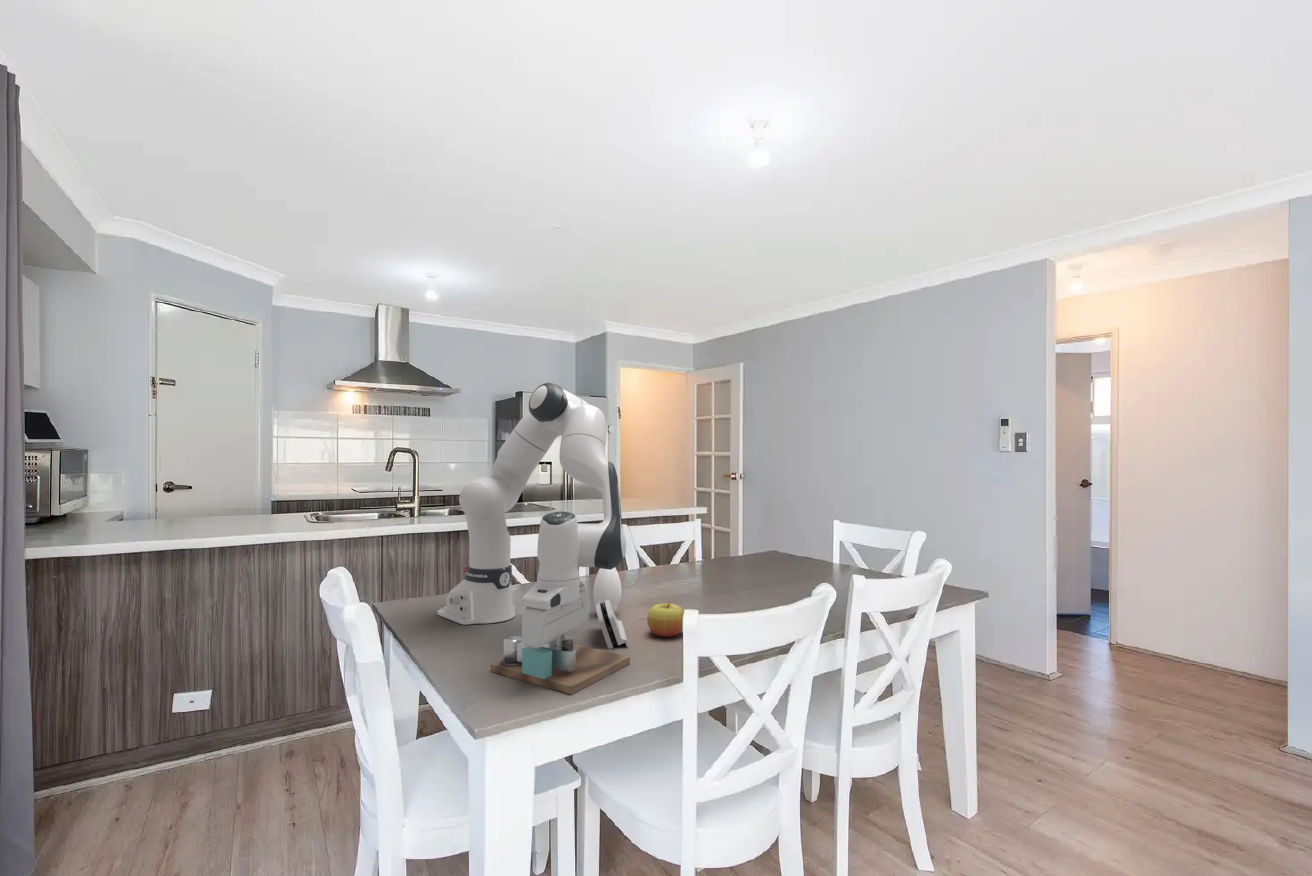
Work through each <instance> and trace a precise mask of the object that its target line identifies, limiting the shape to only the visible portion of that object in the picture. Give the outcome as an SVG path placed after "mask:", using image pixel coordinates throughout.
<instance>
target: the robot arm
mask: <svg viewBox="0 0 1312 876" xmlns="http://www.w3.org/2000/svg"><path fill="white" fill-rule="evenodd" d="M528 410H529V411H528V412H526V413H525V415H524V416H523V417H522V418H521V419H520V420H519V422H518V423H517V424H516V426H515V427H514V428H513V430H512V431H511V433H510V434H509V435H508V437H507V438H506V440H505V441H504V443H503V444H502V445H501V447H500V448H499V449H498V450H497V455H496V459H495V461H494V463H493V466H492V468H491V469H490V471H489V472H488V474H487V475H486V476H485V477H479V478H474V479H473V480H471V481H470V482H468V483H467V484H466V485H465V486H464V487H463V488H462V489H461V491H460V494H459V498H458V501H459V506H460V508H461V510H462V511H463V513H464V516H465V521H466V526H467V530H468V531H467V532H468V539H469V540H468V541H469V542H468V543H469V554H468V555H469V556H468V557H469V558H468V559H469V562H468V563H469V565H468V566H467V567H462V571H461V572H462V573H465V574H464V577H463V579H462V581H460V582H459V583H458V584H456V585H455V587H453V588H452V589H451V590H450V591H449V592H448V594H447V597H446V603H445V604H446V605H445V606H444V607H441V608H440V609H438V610H437V612H436V615H438V616H439V617H443V618H445V619H447V620H450V621H452V622H455V623H457V624H460V625H465V626H466V625H473V624H474V625H476V624H494V623H499V622H500V623H501V622H504V621H508V620H511V619H513V618H515V617H516V606H515V605H514V597H513V588H512V587H513V586H512V582H511V580H512V577H513V574H512V573H513V568H512V564H511V542H512V541H511V534H510V533H509V531H508V525H507V521H506V513H507V512H509V511H510V510H511V509H513V508H514V506H516V504H517V503H518V501H519V498H520V496H521V495H522V493H523V491H524V489H525V487H526V485H527V483H528V481H529V479H530V478H531V476H532V474H533V473H534V471H535V469H536V468H537V467H538V465H539V464H540V462H541V461H542V459H543V458H544V457H545V455H546V454H547V453H548V451H549V450H550V448H551V447H552V445H553V443H554V442H555V440H556V439H557V438H558V437H560V436H561V440H560V446H559V455H558V456H559V463H560V465H561V468H562V469H563V470H564V472H565V473H566V474H567V475H568V476H570V478H572V479H574V480H576V481H577V482H580V483H581V484H582V483H583V484H585V485H588V486H591V487H593V488H595V489H596V490H597V491H599V492H600V493H601V497H602V510H603V521H601V522H599V523H578V519H577V518H578V517H577V515H576V514H574V513H572V512H569V511H553V512H549V513H547V514H545V515H543V516H542V517H541V519H540V523H539V528H538V529H539V530H538V537H537V550H536V551H537V560H538V571H537V573H536V574H537V577H536V578H537V579H536V582H535V583H534V585H533V586H532V587H531V588H530V589H529V590H528V591H527V592H526V593H525V594H523V596H522V597H521V604H522V607H525V608H524V609H523V612H522V616H521V618H522V619H521V637H522V641H523V643H524V645H525V646H527V647H532V648H540V647H542V646H543V645H545V644H547V643H549V644H550V645H555V646H561V641H563V640H568V636H569V635H568V633H569V632H571V631H573V630H575V629H578V628H579V627H580V626H583V625H585V624H586V623H587V622H588V621H589V617H590V604H589V595H588V592H587V591H586V585H584V583H583V582H582V581H580V570H579V567H580V568H596V569H600V568H601V569H609V570H611V569H613V568H616V567H618V566H619V565H620V564H621V563H622V562H623V561H624V560H625V557H626V552H627V543H626V537H625V536H626V535H625V533H624V529H623V522H622V520H623V519H622V509H621V508H622V507H621V496H620V489H619V478H618V474H617V470H616V467H615V464H614V463H613V462H612V461H610V460H608V458H607V457H606V444H607V425H606V424H607V423H606V418H605V417H606V416H605V415H604V413H603V411H602V410H601V409H600V408H599V407H597V406H595V405H591V404H589V403H588V402H587V401H585V400H584V399H582V397H580V396H577V395H576V394H573V393H571V392H570V391H569V390H566V389H564V388H562V387H561V386H560V385H559V384H555V383H552V382H544V383H542V384H540V385H539V386H537V387H536V388H535V390H533V392H532V393H531V396H530V398H529V401H528Z"/></svg>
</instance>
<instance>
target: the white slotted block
mask: <svg viewBox="0 0 1312 876" xmlns="http://www.w3.org/2000/svg"><path fill="white" fill-rule="evenodd" d="M604 608H605V609H604ZM595 611H596V615H597V619H598V623H599V627H600V628H601V632H602V635H603V638H604V641H605V643H606V647H607V649H613V648H614V646H615V645H616V646H621V645H622V644H625V646H626V648H627V649H629V648H630V646H629V641H628V637H627V634H626V631H625V626H624V623H623V622H622V620H619V619H617V616H616V614H615V611H614V610H613V607H612V605H611V602H610V600H606V601H605V602H604V606H603V603H598V604H597V605H595Z"/></svg>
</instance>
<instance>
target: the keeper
mask: <svg viewBox="0 0 1312 876" xmlns="http://www.w3.org/2000/svg"><path fill="white" fill-rule="evenodd" d="M522 673H524V674H527V675H531V676H535V677H538V678H542V679H546V678H548V677H550V676H552V651H551V650H547V649H543V648H532V647H524V648H522Z"/></svg>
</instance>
